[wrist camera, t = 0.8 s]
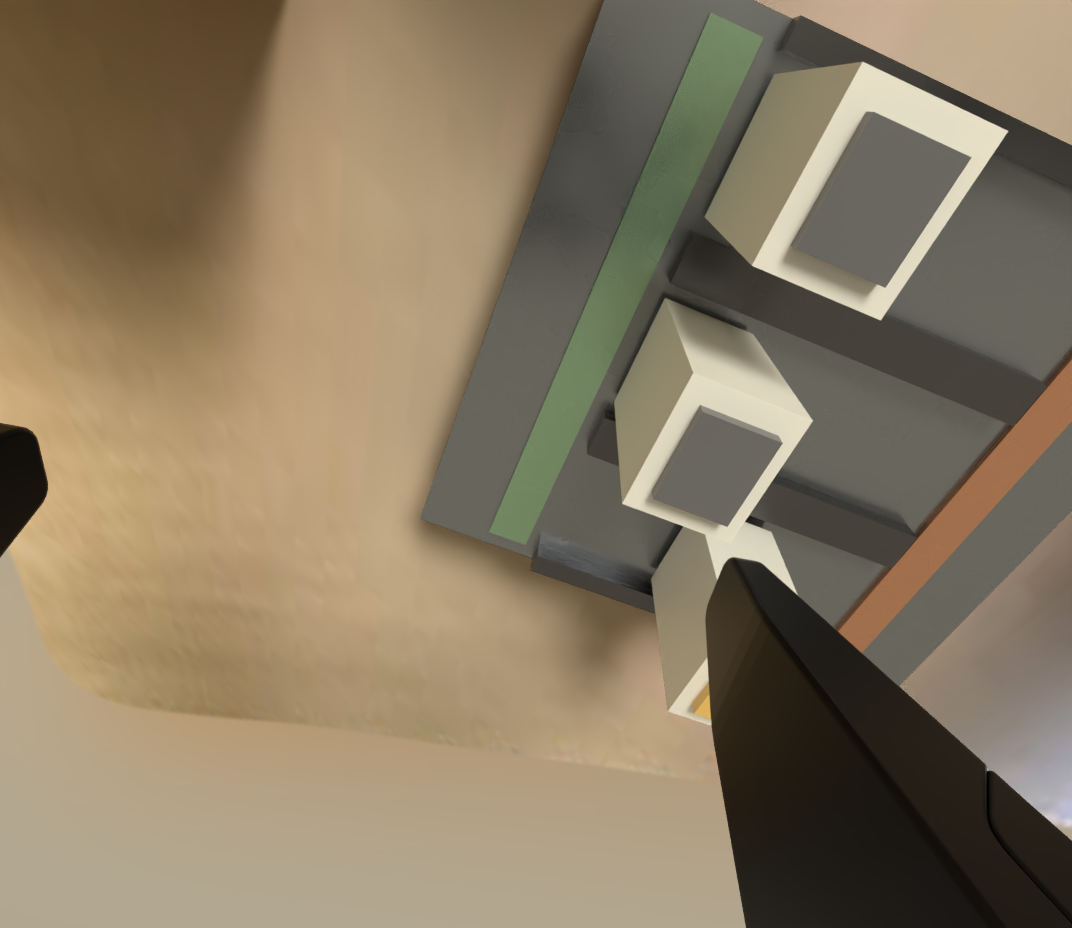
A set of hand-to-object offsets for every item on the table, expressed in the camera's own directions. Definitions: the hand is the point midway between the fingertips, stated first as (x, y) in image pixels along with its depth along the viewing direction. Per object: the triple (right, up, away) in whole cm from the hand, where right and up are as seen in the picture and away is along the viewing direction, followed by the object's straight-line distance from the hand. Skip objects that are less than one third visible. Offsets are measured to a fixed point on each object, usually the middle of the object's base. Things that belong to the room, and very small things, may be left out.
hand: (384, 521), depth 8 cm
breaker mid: (+6, +3, +8) cm, 10 cm away
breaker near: (+7, +7, +6) cm, 12 cm away
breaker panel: (+9, +3, +11) cm, 15 cm away
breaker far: (+7, -2, +11) cm, 13 cm away
